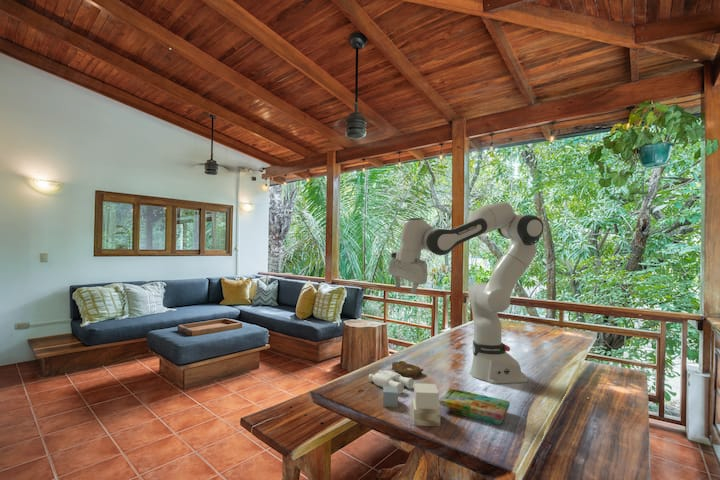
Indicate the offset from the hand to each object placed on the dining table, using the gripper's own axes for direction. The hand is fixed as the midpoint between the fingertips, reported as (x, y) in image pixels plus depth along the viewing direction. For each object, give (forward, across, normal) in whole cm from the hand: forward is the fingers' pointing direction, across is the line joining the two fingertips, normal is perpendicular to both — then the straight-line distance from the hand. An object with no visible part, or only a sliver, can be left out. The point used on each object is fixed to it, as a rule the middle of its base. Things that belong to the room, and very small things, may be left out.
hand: (404, 290), depth 143 cm
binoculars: (+37, -6, +7) cm, 38 cm away
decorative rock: (+38, +1, -7) cm, 38 cm away
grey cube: (+36, -18, +17) cm, 43 cm away
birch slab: (+34, -33, +14) cm, 49 cm away
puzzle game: (+32, -38, -3) cm, 50 cm away
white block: (+29, -32, +14) cm, 45 cm away
